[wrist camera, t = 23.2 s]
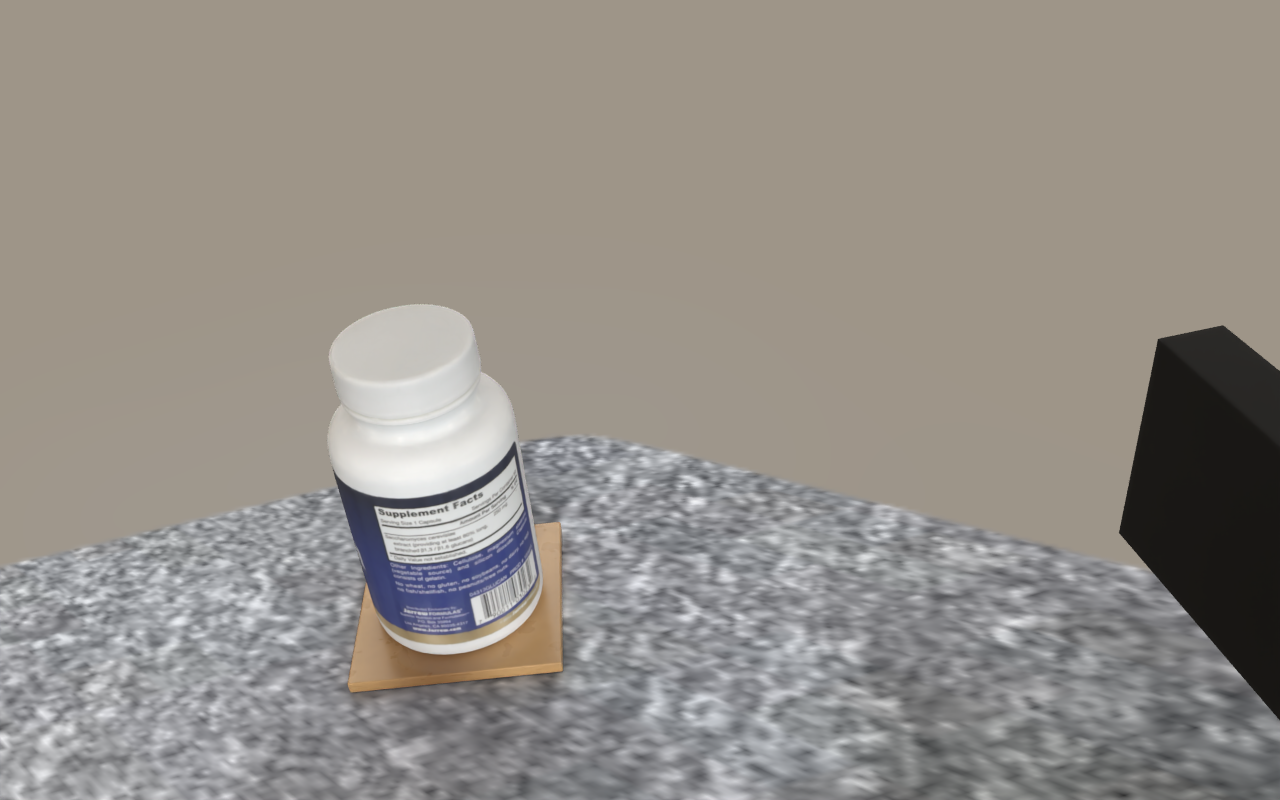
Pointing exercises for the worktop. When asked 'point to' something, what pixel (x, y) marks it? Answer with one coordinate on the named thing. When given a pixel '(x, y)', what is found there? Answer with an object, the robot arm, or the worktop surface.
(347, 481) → the pill bottle
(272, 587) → the worktop surface
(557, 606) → the coaster
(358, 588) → the worktop surface
